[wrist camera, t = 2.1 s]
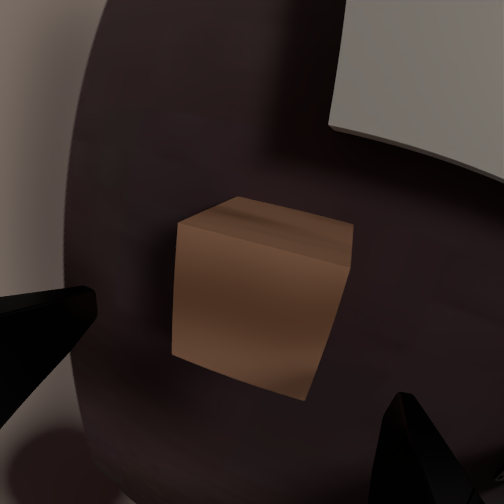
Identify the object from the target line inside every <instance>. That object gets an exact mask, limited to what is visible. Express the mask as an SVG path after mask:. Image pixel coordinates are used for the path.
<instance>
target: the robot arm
mask: <svg viewBox="0 0 504 504" xmlns="http://www.w3.org/2000/svg"><path fill="white" fill-rule="evenodd" d="M96 317H97V302H96V293H95V291H94V290H93V289H91V288H89V287H87V286H77V287H70V288H63V289H55V290H48V291H41V292H34V293H26V294H19V295H12V296H4V297H0V429H1V428H2V427H3V425H4V424H5V423H6V422H7V421H8V419H9V418H10V417H11V416H12V415H13V414H14V413H15V411H16V410H17V409H18V408H19V407H20V406H21V405H22V403H23V402H24V401H25V400H26V399H27V398H28V397H29V396H30V394H31V393H32V392H33V391H34V390H35V389H36V388H37V387H38V386H39V384H40V383H41V382H42V381H43V380H44V379H45V378H46V377H47V376H48V375H49V374H50V373H51V371H52V370H53V369H54V368H55V367H56V366H57V365H58V364H59V363H60V362H61V361H62V360H63V359H64V357H66V355H67V354H68V353H69V352H70V351H71V350H72V348H73V347H74V346H75V345H76V343H77V342H78V341H79V339H80V338H81V337H82V336H83V334H84V333H85V332H86V331H87V329H88V328H89V327H90V326H91V324H92V323H93V322H94V321H95V319H96ZM494 479H495V481H504V466H503V467H502V468H501V469H500V470H499V471H498V472H497V473H496V474H495V475H494ZM368 504H484V502H483V500H482V499H481V497H480V496H479V494H478V492H477V491H476V489H474V486H473V484H472V483H471V481H470V480H469V478H468V476H467V475H466V473H465V472H464V470H463V468H462V467H461V465H460V464H459V462H458V461H457V459H456V458H455V456H454V454H453V453H452V451H451V450H450V448H449V447H448V445H447V444H446V442H445V441H444V439H443V438H442V436H441V435H440V433H439V432H438V430H437V429H436V427H435V426H434V424H433V423H432V421H431V420H430V418H429V417H428V415H427V414H426V412H425V411H424V409H423V408H422V407H421V405H420V404H419V402H418V401H417V399H416V398H415V396H414V395H412V394H409V393H404V392H398V393H397V394H396V395H395V397H394V399H393V400H392V402H391V404H390V405H389V407H388V408H387V410H386V412H385V414H384V416H383V419H382V424H381V429H380V435H379V440H378V445H377V449H376V454H375V459H374V463H373V468H372V475H371V483H370V491H369V498H368Z"/></svg>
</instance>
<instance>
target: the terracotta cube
mask: <svg viewBox="0 0 504 504" xmlns="http://www.w3.org/2000/svg"><path fill="white" fill-rule="evenodd" d="M352 239H353V224H350V223H346V222H342V221H338V220H335V219H331V218H327V217H323V216H319V215H315V214H311V213H307V212H302V211H298V210H294V209H290V208H286V207H282V206H277V205H273V204H269V203H264V202H260V201H255V200H251V199H246V198H242V197H235V198H233V199H231V200H228V201H226V202H224V203H221V204H219V205H217V206H214V207H212V208H210V209H208V210H205V211H203V212H201V213H199V214H196V215H194V216H192V217H190V218H188V219H185V220H183V221H181V222H179V223H178V230H177V243H176V258H175V275H174V295H173V322H172V355H175V356H177V357H179V358H182V359H184V360H187V361H189V362H192V363H194V364H197V365H199V366H202V367H205V368H207V369H210V370H212V371H215V372H218V373H220V374H223V375H226V376H229V377H232V378H234V379H237V380H240V381H243V382H246V383H249V384H252V385H255V386H258V387H261V388H264V389H267V390H270V391H273V392H277V393H280V394H283V395H286V396H290V397H293V398H297V399H300V400H304V401H305V398H306V396H307V393H308V391H309V388H310V385H311V383H312V380H313V378H314V375H315V372H316V370H317V367H318V364H319V362H320V359H321V356H322V353H323V351H324V348H325V345H326V342H327V339H328V336H329V333H330V331H331V328H332V325H333V322H334V319H335V316H336V313H337V309H338V306H339V303H340V300H341V297H342V294H343V290H344V287H345V284H346V281H347V277H348V274H349V270H350V265H351V253H352Z"/></svg>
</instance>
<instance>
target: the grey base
mask: <svg viewBox="0 0 504 504" xmlns="http://www.w3.org/2000/svg"><path fill="white" fill-rule="evenodd" d="M328 125H329V126H330V127H331V128H332V129H333V130H334V131H339V132H343V133H348V134H352V135H356V136H360V137H365V138H369V139H372V140H376V141H380V142H384V143H388V144H391V145H395V146H398V147H402V148H405V149H409V150H412V151H415V152H419V153H422V154H425V155H428V156H431V157H434V158H437V159H440V160H443V161H446V162H449V163H452V164H455V165H458V166H461V167H463V168H466V169H469V170H471V171H474V172H477V173H479V174H482V175H484V176H487V177H489V178H492V179H494V180H497V181H499V182H502V183H504V0H346V8H345V17H344V24H343V32H342V39H341V47H340V54H339V60H338V67H337V74H336V80H335V86H334V93H333V99H332V105H331V111H330V117H329V122H328Z"/></svg>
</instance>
